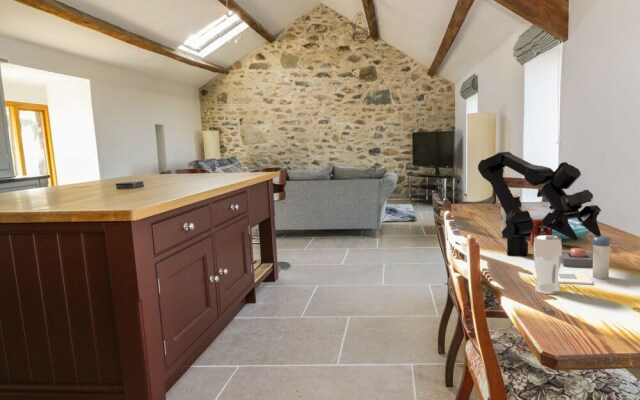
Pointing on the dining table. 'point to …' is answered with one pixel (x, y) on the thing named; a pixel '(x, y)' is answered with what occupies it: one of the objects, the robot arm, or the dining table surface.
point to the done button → (578, 253)
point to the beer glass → (547, 263)
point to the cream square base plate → (573, 278)
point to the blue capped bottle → (601, 257)
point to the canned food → (539, 228)
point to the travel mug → (503, 214)
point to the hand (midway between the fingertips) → (588, 238)
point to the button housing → (577, 260)
